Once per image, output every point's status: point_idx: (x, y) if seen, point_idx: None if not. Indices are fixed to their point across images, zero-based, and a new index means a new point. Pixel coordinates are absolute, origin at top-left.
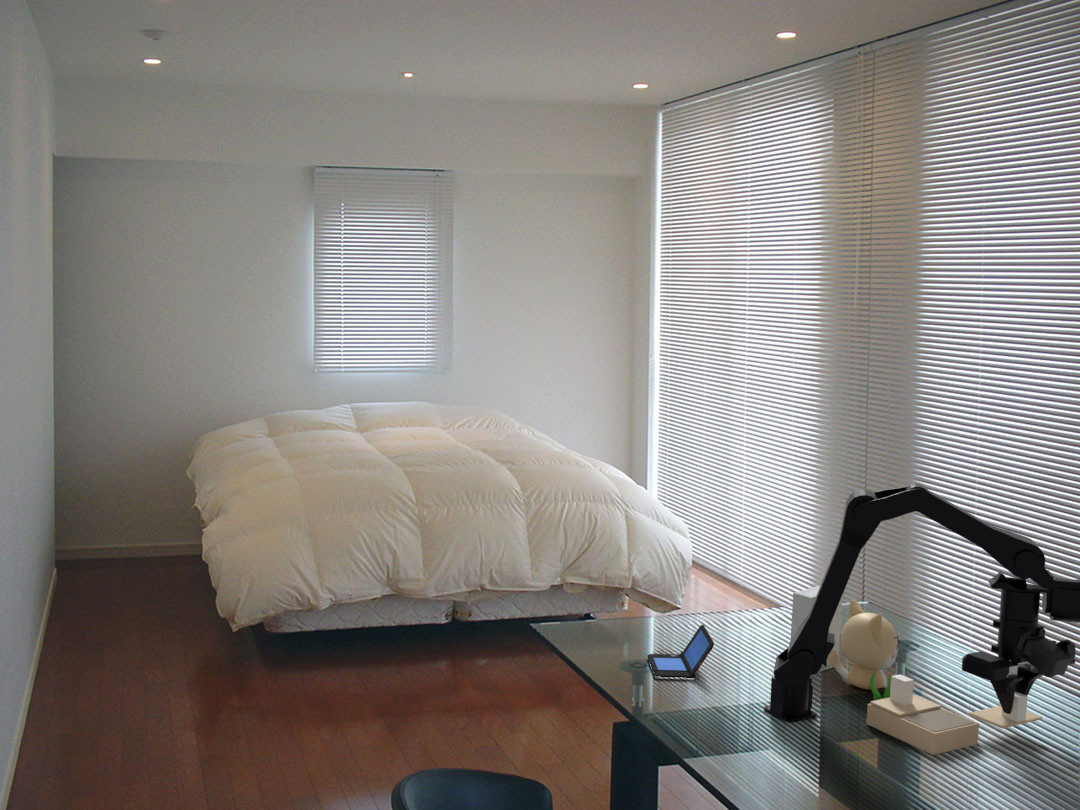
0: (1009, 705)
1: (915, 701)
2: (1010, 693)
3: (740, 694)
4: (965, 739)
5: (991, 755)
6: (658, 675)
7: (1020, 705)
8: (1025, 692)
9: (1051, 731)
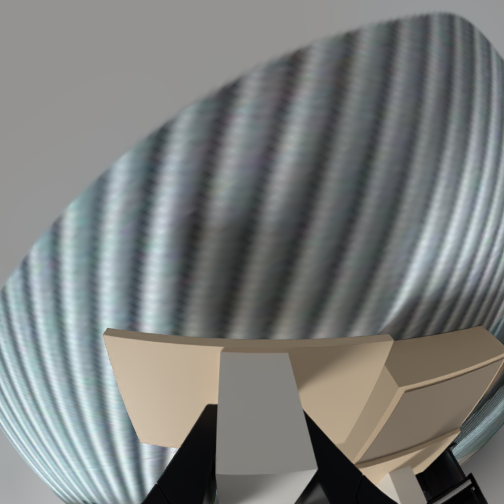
0: (326, 435)
1: (371, 480)
2: (372, 489)
3: None
4: (424, 351)
5: (417, 272)
6: None
7: (286, 422)
8: (197, 493)
9: (57, 304)
